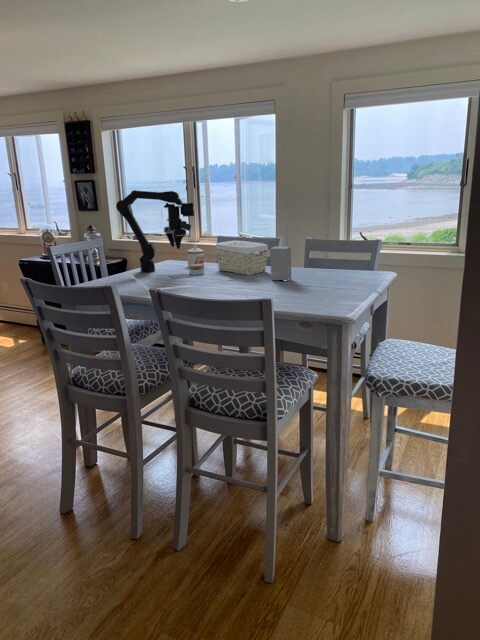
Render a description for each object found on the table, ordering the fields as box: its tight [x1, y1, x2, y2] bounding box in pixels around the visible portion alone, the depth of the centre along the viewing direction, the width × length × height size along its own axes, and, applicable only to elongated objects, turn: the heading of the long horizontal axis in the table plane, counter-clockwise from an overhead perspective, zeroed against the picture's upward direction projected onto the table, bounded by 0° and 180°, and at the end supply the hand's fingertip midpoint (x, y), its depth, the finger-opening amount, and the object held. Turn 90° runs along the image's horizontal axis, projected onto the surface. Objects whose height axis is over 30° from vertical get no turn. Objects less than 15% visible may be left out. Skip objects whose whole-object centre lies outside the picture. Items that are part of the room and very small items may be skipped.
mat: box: [166, 273, 193, 280], centre depth 231 cm, size 10×10×1 cm
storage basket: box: [215, 240, 269, 276], centre depth 245 cm, size 24×16×15 cm
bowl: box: [188, 268, 205, 276], centre depth 237 cm, size 7×7×4 cm
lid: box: [189, 264, 205, 270], centre depth 237 cm, size 7×7×2 cm
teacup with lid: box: [186, 245, 206, 269], centre depth 260 cm, size 12×9×12 cm
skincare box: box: [269, 245, 292, 280], centre depth 221 cm, size 8×7×16 cm
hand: (175, 247), depth 241 cm, fingers open, 9 cm apart
